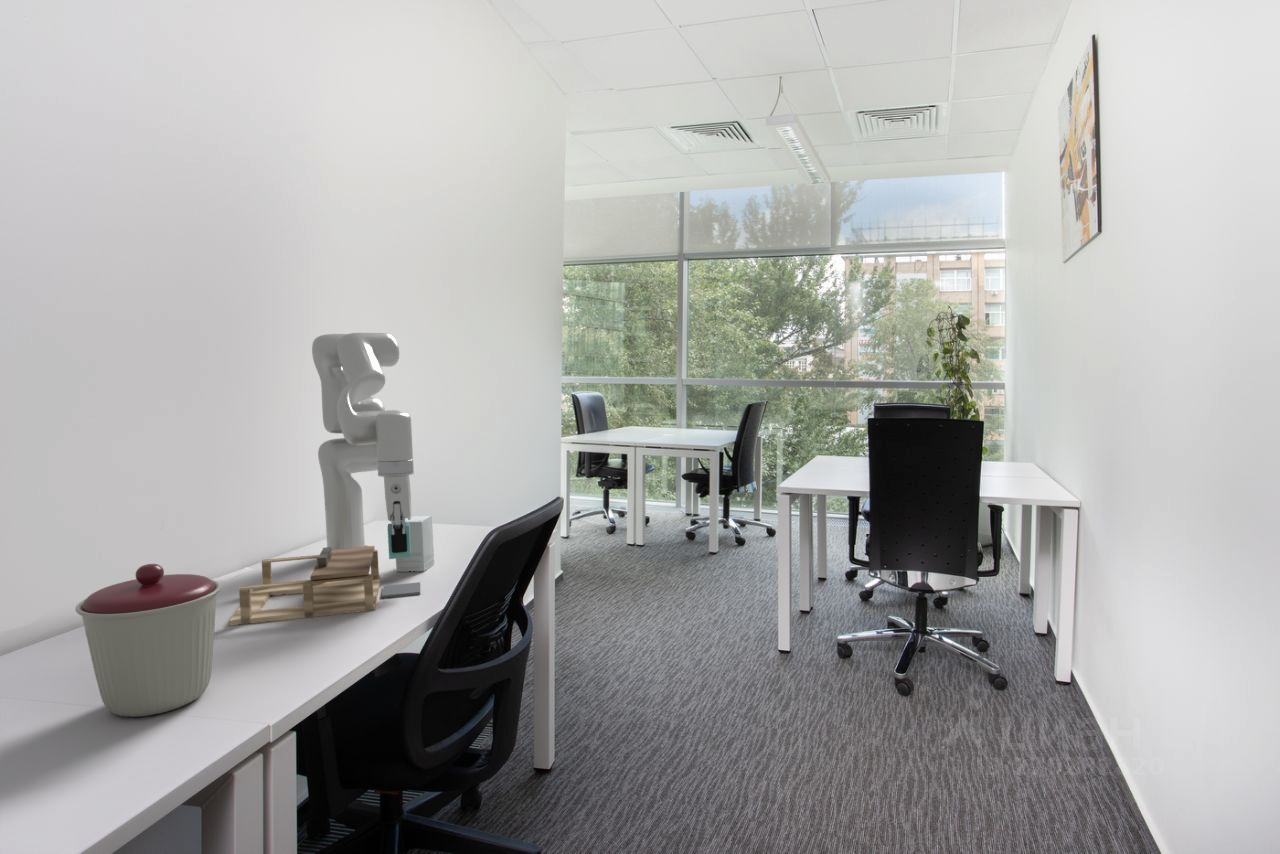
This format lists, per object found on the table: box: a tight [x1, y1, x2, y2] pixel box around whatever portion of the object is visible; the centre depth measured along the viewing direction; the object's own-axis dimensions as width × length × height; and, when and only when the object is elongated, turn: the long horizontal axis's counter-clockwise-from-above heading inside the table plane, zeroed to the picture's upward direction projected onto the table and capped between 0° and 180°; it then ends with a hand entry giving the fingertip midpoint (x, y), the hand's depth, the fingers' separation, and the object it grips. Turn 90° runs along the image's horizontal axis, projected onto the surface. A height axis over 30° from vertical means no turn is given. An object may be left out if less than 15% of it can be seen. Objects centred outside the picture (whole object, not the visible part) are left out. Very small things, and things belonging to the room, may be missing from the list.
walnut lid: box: [310, 545, 376, 580], centre depth 163 cm, size 24×11×3 cm, turn 17°
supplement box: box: [395, 515, 435, 573], centre depth 186 cm, size 7×7×13 cm
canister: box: [75, 563, 222, 718], centre depth 112 cm, size 18×18×21 cm
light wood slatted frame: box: [228, 549, 381, 626], centre depth 161 cm, size 24×27×7 cm
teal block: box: [387, 522, 411, 560], centre depth 166 cm, size 4×4×7 cm
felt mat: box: [381, 581, 421, 599], centre depth 167 cm, size 8×8×1 cm
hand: (399, 548), depth 166 cm, fingers closed on teal block, 4 cm apart
